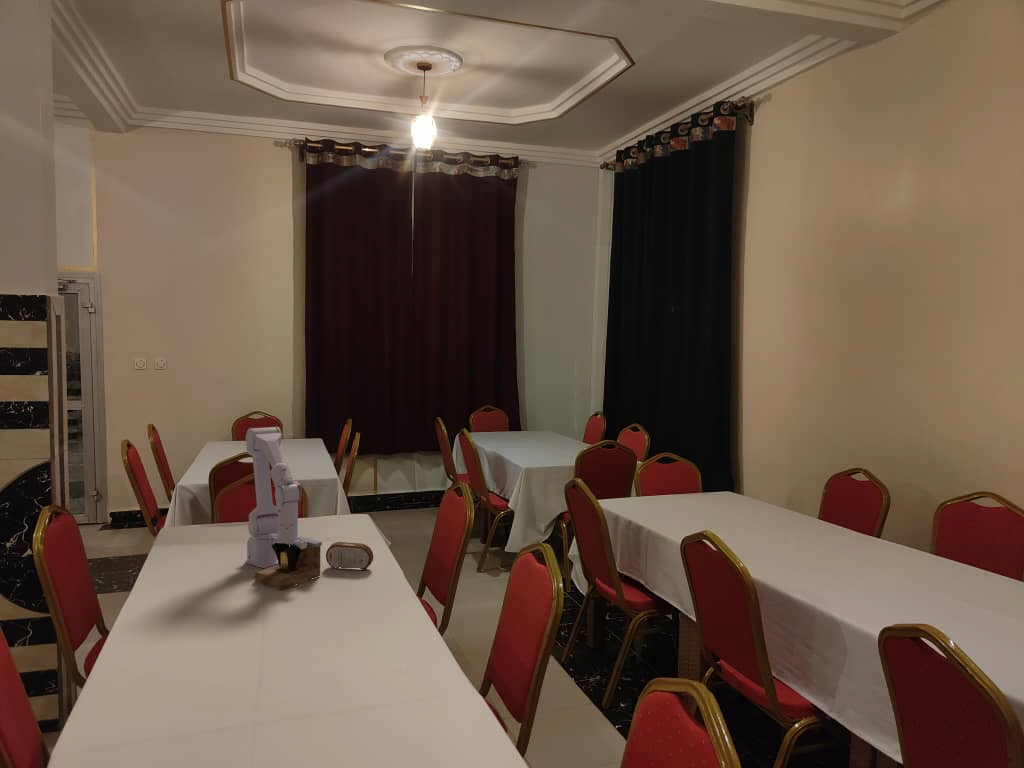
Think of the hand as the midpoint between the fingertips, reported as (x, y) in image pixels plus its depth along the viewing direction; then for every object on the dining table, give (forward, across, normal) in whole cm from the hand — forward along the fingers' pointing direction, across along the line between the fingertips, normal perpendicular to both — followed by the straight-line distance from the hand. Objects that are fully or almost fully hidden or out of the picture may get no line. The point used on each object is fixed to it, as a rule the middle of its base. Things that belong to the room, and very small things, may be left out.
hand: (287, 567), depth 214 cm
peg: (+2, 0, 0) cm, 2 cm away
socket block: (+4, 0, 0) cm, 4 cm away
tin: (+4, +8, +18) cm, 20 cm away
